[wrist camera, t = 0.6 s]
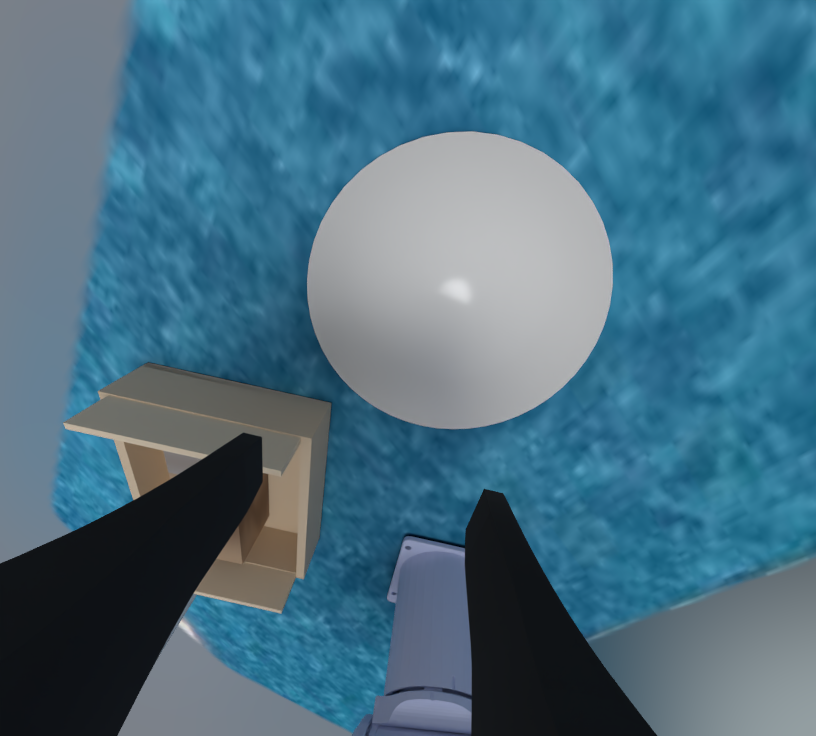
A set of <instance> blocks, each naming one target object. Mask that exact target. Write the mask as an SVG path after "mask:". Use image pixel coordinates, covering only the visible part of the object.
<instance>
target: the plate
mask: <svg viewBox="0 0 816 736" xmlns="http://www.w3.org/2000/svg"><path fill="white" fill-rule="evenodd" d="M612 286H613V264H612V257H611V251H610V244H609V240H608V237H607V234H606V231H605V228H604V224H603V221H602V219H601V217H600V215H599V213H598V211H597V209H596V207H595V205H594V203H593V201H592V200H591V199H590V197H589V196H588V195H587V193H586V192H585V190H584V189H583V188H582V186H581V185H580V183H579V182H578V181H577V180H576V179H575V178H574V177H573V176H572V175H571V174H570V173H569V172H568V171H567V170H566V169H565V168H564V167H563V166H561V165H560V164H558V163H557V162H556V161H554V160H553V159H551V158H550V157H549V156H547V155H546V154H544V153H543V152H541V151H539V150H537V149H535V148H533V147H531V146H529V145H527V144H525V143H523V142H520V141H517V140H513V139H510V138H507V137H503V136H500V135H496V134H488V133H480V132H447V133H442V134H437V135H431V136H426V137H422V138H419V139H417V140H414V141H411V142H408V143H405V144H402V145H400V146H398V147H396V148H394V149H393V150H391V151H389V152H387V153H385V154H383V155H381V156H380V157H378V158H377V159H375V160H374V161H373V162H371V163H370V164H369V165H367V166H366V167H365V168H363V169H362V170H361V171H360V172H359V173H358V174H357V175H356V176H355V177H354V178H353V179H352V180H351V181H350V182H349V183H348V184H347V185H346V186H345V187H344V188H343V189H342V191H341V192H340V193H339V195H338V196H337V197H336V199H335V200H334V201H333V203H332V204H331V206H330V207H329V209H328V211H327V213H326V215H325V216H324V218H323V220H322V222H321V224H320V227H319V229H318V232H317V234H316V237H315V240H314V242H313V247H312V251H311V255H310V259H309V266H308V276H307V296H308V305H309V311H310V317H311V321H312V324H313V327H314V331H315V334H316V336H317V339H318V341H319V343H320V346H321V348H322V350H323V352H324V354H325V355H326V357H327V359H328V361H329V362H330V364H331V365H332V367H333V368H334V369H335V371H336V372H337V373H338V375H339V376H340V377H341V378H342V379H343V380H344V382H345V383H346V384H347V385H348V386H349V387H350V388H351V389H352V390H353V391H355V392H356V393H357V394H358V395H359V396H360V397H362V398H363V399H364V400H366V401H367V402H369V403H370V404H372V405H373V406H375V407H376V408H378V409H380V410H381V411H383V412H385V413H387V414H389V415H391V416H394V417H396V418H399V419H401V420H404V421H406V422H410V423H414V424H417V425H421V426H427V427H433V428H442V429H469V428H476V427H483V426H488V425H492V424H496V423H500V422H503V421H506V420H509V419H511V418H514V417H517V416H519V415H521V414H523V413H525V412H527V411H529V410H531V409H533V408H535V407H536V406H538V405H539V404H541V403H543V402H544V401H546V400H547V399H549V398H550V397H551V396H552V395H554V394H555V393H556V392H557V391H559V390H560V389H561V388H562V387H563V386H564V385H565V384H566V383H567V382H568V381H569V380H570V379H571V378H572V377H573V376H574V375H575V374H576V373H577V371H578V370H579V369H580V367H581V366H582V365H583V364H584V362H585V361H586V360H587V358H588V356H589V355H590V353H591V351H592V350H593V348H594V346H595V345H596V343H597V340H598V338H599V336H600V334H601V331H602V329H603V327H604V324H605V321H606V317H607V313H608V310H609V306H610V300H611V293H612Z"/></svg>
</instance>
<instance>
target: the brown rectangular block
mask: <svg viewBox="0 0 816 736" xmlns="http://www.w3.org/2000/svg"><path fill="white" fill-rule="evenodd" d="M163 452H164V456H165V460H166V464H167V468H168V473H169V477H170V479H171V478H173V477H175V476H176V475H178V474H179V473H181V472H183V471H184V470H186V469H187V468H189V467H191V466H192V465H194V464H195V463H197V462H199V461H200V460H202V459H199V458H194V457H190V456H185V455H181V454H176V453H172V452H167V451H163ZM268 517H269V483H268V474H266V473H263V482H262V484H261V486H260V488H259V490H258V492H257V494H256V496H255V498H254V500H253V502H252V504H251V506H250V508H249V510H248V512H247V513H246V515H245V516H244V518H243V519H242V521H241V523H240V524H239V526H238V527H237V529H236V530H235V532H234V533H233V535H232V536H231V538H230V539H229V541H228V542H227V544H226V545H225V547H224V548H223V550H222V551H221V553H220V554H219V556H218V557H217V558H216V559H220V560H224V561H229V562H233V563H237V564H242V565H243V563H244V561H245V559H246V557H247V556H248V554H249V552H250V550H251V548H252V546H253V545H254V543H255V541H256V539H257V537H258V536H259V534H260V532H261V530H262V528H263V527H264V525H265V523H266V521H267V519H268Z"/></svg>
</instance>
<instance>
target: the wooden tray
mask: <svg viewBox="0 0 816 736" xmlns="http://www.w3.org/2000/svg"><path fill="white" fill-rule="evenodd" d="M98 393H99V396H100V399H101V400H100V401H98V402H96V403H95V404H93V405H92V406H90V407H88V408H87V409H85V410H83V411H82V412H80V413H78V414H77V415H75V416H73V417H72V418H70V419H68V420H67V421H65V422H63V423H64V426H65V428H66V429H69V430H73V431H78V432H82V433H86V434H91V435H95V436H100V437H104V438H109V439H113V440H114V442H115V445H116V448H117V451H118V454H119V457H120V460H121V463H122V466H123V469H124V472H125V475H126V478H127V481H128V485H129V488H130V491H131V494H132V497H133V500H135V499H137V498H139V497H140V496H142V495H144V494H146V493H147V492H149V491H151V490H152V489H154V488H156V487H158V486H159V485H161V484H163V483H165V482H166V481H168V480H170V477H169V473H168V468H167V464H166V460H165V456H164V452H163V451H167V452H172V453H176V454H181V455H185V456H190V457H194V458H199V459H203V458H205V457H206V456H208V455H209V454H211V453H212V452H214V451H215V450H217V449H219V448H220V447H222V446H223V445H225V444H226V443H228V442H229V441H231V440H232V439H234V438H235V437H237V436H238V435H240V434H242V433H248V434H252V435H256V436H260V437H262V460H263V473H266V474H268V483H269V517H268V519H267V521H266V523H265V525H264V527H263V528H262V530H261V532H260V534H259V536H258V537H257V539H256V541H255V543H254V545H253V546H252V548H251V550H250V552H249V554H248V556H247V557H246V559H245V561H244V563H243V565H242V564H237V563H233V562H229V561H224V560H220V559H216V560H215V561H214V563H213V564H212V566H211V567H210V569H209V570H208V572H207V573H206V575H205V576H204V578H203V579H202V581H201V582H200V584H199V586H198V587H197V589H196V590H195V592H194V594H198V595H202V596H206V597H211V598H215V599H220V600H224V601H228V602H233V603H237V604H242V605H246V606H251V607H255V608H259V609H264V610H268V611H273V612H277V613H282V611H283V608H284V606H285V603H286V601H287V598H288V596H289V593H290V591H291V588H292V586H293V583H294V581H295V578H301V579H304V577H305V574H306V572H307V569H308V566H309V564H310V561H311V558H312V556H313V553H314V550H315V548H316V545H317V542H318V540H319V537H320V526H321V515H322V504H323V493H324V481H325V470H326V459H327V448H328V437H329V425H330V414H331V403H330V402H325V401H321V400H316V399H312V398H307V397H302V396H298V395H293V394H289V393H284V392H280V391H275V390H271V389H266V388H262V387H257V386H253V385H248V384H244V383H239V382H234V381H230V380H225V379H221V378H216V377H212V376H207V375H203V374H198V373H194V372H189V371H185V370H180V369H176V368H171V367H166V366H162V365H157V364H153V363H146V364H144V365H143V366H141V367H139V368H137V369H136V370H134V371H132V372H130V373H129V374H127V375H125V376H123V377H122V378H120V379H118V380H117V381H115V382H113V383H111V384H110V385H108V386H106V387H104V388H103V389H101V390H99V391H98Z"/></svg>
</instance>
